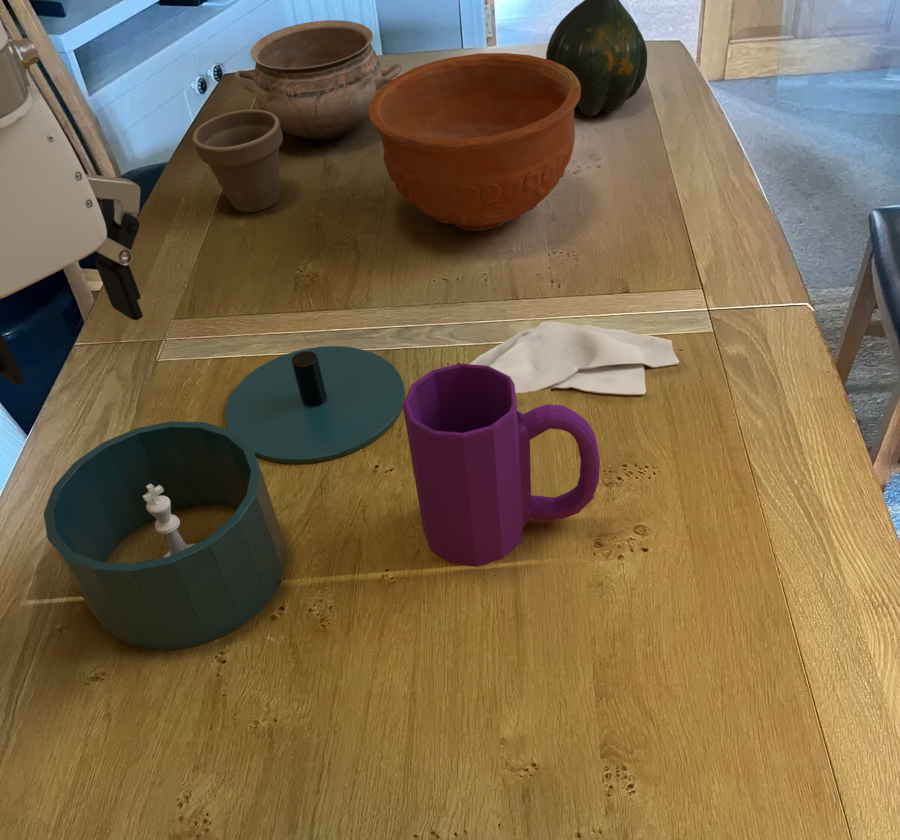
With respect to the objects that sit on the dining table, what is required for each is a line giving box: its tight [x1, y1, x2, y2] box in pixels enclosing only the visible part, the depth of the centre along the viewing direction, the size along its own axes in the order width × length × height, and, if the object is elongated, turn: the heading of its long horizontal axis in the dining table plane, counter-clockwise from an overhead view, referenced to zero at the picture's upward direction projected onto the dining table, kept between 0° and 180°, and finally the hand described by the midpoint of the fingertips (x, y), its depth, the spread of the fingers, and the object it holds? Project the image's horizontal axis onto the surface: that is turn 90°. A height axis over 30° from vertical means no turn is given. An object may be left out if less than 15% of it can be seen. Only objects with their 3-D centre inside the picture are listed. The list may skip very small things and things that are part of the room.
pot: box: [43, 420, 287, 651], centre depth 80 cm, size 18×18×10 cm
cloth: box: [469, 321, 680, 396], centre depth 98 cm, size 26×14×2 cm, turn 88°
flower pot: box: [192, 109, 284, 213], centre depth 125 cm, size 12×11×10 cm
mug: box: [402, 363, 601, 568], centre depth 78 cm, size 9×16×15 cm, turn 92°
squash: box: [545, 0, 648, 117], centre depth 135 cm, size 14×15×15 cm
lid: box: [224, 345, 405, 465], centre depth 95 cm, size 19×19×6 cm
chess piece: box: [143, 483, 196, 558], centre depth 80 cm, size 5×5×10 cm
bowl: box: [368, 52, 581, 232], centre depth 115 cm, size 25×25×15 cm
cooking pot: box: [234, 19, 402, 143], centre depth 137 cm, size 25×19×12 cm
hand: (71, 343), depth 67 cm, fingers open, 9 cm apart
